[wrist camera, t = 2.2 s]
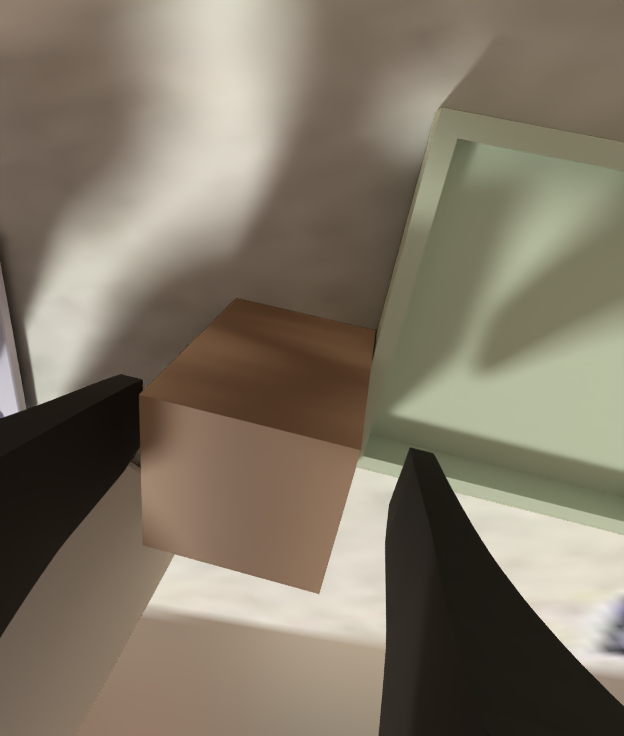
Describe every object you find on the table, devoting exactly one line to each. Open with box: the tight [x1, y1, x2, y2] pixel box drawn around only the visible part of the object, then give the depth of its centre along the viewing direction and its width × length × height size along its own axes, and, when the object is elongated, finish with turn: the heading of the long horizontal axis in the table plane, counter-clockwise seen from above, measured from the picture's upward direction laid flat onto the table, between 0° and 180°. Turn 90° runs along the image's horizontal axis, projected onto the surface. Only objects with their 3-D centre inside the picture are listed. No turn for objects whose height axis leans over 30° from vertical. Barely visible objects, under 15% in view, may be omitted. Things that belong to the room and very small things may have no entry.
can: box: [0, 462, 174, 736], centre depth 14 cm, size 8×8×12 cm
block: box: [139, 298, 376, 594], centre depth 12 cm, size 4×4×6 cm
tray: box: [356, 107, 624, 535], centre depth 12 cm, size 10×10×2 cm
